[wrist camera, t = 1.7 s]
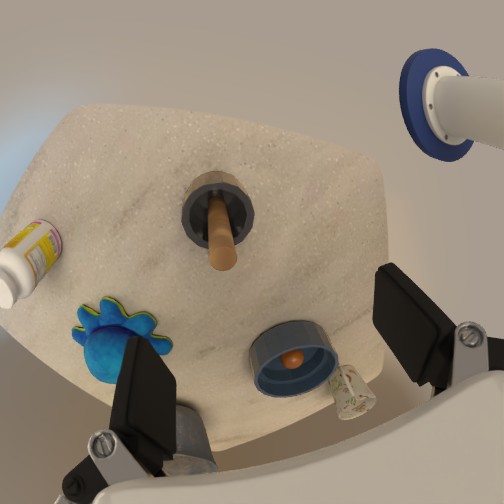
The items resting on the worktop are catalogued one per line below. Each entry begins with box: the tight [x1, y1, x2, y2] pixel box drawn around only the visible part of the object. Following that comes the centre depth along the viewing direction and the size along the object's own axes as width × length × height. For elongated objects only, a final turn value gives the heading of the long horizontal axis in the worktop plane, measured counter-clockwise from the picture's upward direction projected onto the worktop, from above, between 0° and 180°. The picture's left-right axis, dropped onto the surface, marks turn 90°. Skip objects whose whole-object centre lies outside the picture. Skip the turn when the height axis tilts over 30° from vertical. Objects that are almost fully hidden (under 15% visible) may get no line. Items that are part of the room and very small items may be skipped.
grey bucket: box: [163, 405, 218, 477], centre depth 45 cm, size 18×18×15 cm
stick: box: [208, 194, 237, 271], centre depth 26 cm, size 2×2×14 cm
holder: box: [181, 171, 255, 249], centre depth 30 cm, size 7×7×6 cm
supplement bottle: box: [0, 220, 61, 309], centre depth 25 cm, size 7×7×13 cm
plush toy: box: [72, 297, 173, 384], centre depth 36 cm, size 17×17×8 cm
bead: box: [280, 349, 304, 369], centre depth 44 cm, size 4×4×4 cm
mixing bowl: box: [249, 321, 338, 398], centre depth 44 cm, size 14×14×6 cm
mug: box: [329, 365, 376, 420], centre depth 48 cm, size 8×13×10 cm, turn 28°
